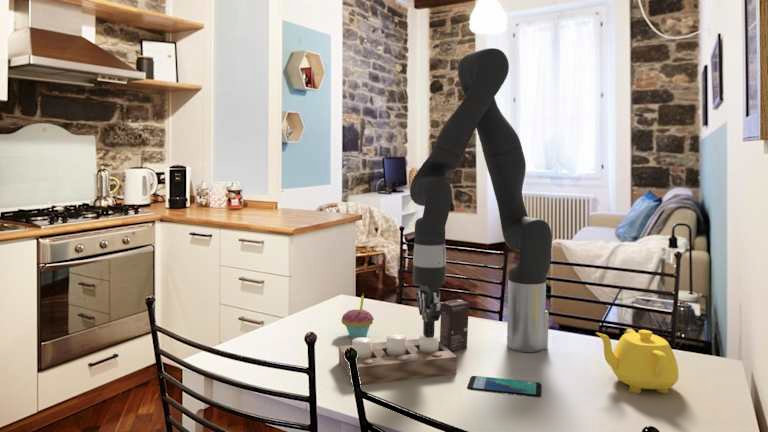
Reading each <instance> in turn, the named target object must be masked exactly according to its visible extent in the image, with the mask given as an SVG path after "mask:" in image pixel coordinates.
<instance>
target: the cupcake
mask: <svg viewBox="0 0 768 432" xmlns="http://www.w3.org/2000/svg"><path fill="white" fill-rule="evenodd" d="M364 294H365V293H364V292H363V293H362V295H361V298H360V305H359V309H351V310H350V309H349V310H347V312H345V313H344V314H343V315H342V317H341V324H342V325H344V326H345V328H346V330H347V333H348V336H349V337H350V338H352V337H353V339H355V338H359V337H365V336H366V337H367V336H368V332H369V330H370V326H371V325H372V324H373V321H374V320H375V319H374V316H373V315H372V313H371V312H369V311H368V310H366V309H363V307H364V298H365V297H364Z"/></svg>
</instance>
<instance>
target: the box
mask: <svg viewBox="0 0 768 432" xmlns="http://www.w3.org/2000/svg"><path fill="white" fill-rule="evenodd" d="M442 302H443V304H444V308H443V310H442V313H441V315H440V327H439V328H440V329H439V331H440V332H439V342H441V343H442V344H443V345H444V346H445V347H446V348H447V349H449V350H450V351H451V352H454V351H458V350H462V349H467V348H468V336H469V335H468V332H469V331H468V330H469V327H468V326H469V313H470V312H469V310H470V308H469V306H470V302H469V301H465V300H463V299H459V298H457V299H450V300H446V301H441V302H440V303H442Z"/></svg>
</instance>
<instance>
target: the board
mask: <svg viewBox="0 0 768 432" xmlns="http://www.w3.org/2000/svg"><path fill="white" fill-rule="evenodd" d="M349 347H352V344H349V345H338V362H339V365H340V367H341V368H343V369H342V370H344V371H343V372H345V373H344V374H345V376H346V375H347V376H346V378H347V377H348V378H347V380H348V379H349V380H348V382H349V381H350V382H351V375H350V368H349V364H348V362H347V361H346V360H345V358H344V351H345V350H346V349H347V348H349ZM457 359H458V357H457V355H455V353H453V351H450V350H449V349H447V348H446V347H445V346H444V345H443V344H442V343H441V342H440V341H439V352H429V353H421V352H420V338H413V339H406V355H400V356H390V357H388V356H387V341H382V342H372V358H370V359H360V360H357V367H358V372H359V377H360V381H361V385H362V386H363V385H370V384H371V385H372V384H380V383H389V382H397V381H405V380H406V381H407V380H415V379H423V378H433V377H442V376H450V375H457V373H458V372H457V371H458V370H457V368H458V367H457V363H458V362H457V361H458V360H457ZM350 382H349V383H350ZM361 385H360V386H361ZM350 386H352V382H351V384H350ZM352 387H353V386H352Z"/></svg>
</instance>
